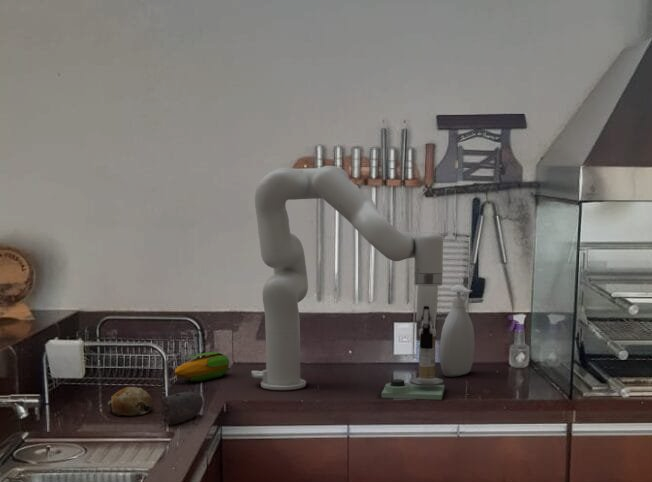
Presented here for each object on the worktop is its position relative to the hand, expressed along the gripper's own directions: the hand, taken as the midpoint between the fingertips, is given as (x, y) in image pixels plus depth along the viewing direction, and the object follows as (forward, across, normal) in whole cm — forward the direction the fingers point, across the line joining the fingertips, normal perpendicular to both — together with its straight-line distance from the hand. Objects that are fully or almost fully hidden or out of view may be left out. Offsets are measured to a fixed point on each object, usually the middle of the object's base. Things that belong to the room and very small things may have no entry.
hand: (427, 346), depth 243 cm
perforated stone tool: (+13, +38, -55) cm, 68 cm away
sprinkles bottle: (+9, 0, 0) cm, 9 cm away
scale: (+13, +2, -3) cm, 14 cm away
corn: (+13, -8, -65) cm, 67 cm away
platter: (+10, 0, 0) cm, 10 cm away
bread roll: (+13, +32, -71) cm, 79 cm away
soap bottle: (+13, -26, +8) cm, 30 cm away
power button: (+10, +4, -7) cm, 14 cm away
